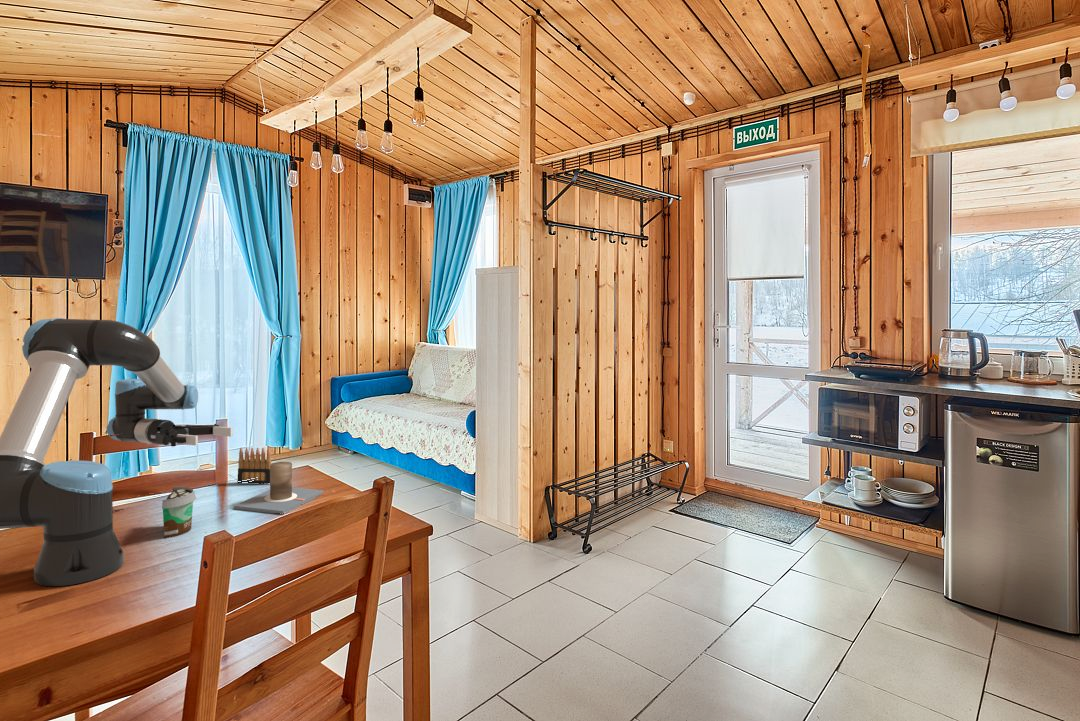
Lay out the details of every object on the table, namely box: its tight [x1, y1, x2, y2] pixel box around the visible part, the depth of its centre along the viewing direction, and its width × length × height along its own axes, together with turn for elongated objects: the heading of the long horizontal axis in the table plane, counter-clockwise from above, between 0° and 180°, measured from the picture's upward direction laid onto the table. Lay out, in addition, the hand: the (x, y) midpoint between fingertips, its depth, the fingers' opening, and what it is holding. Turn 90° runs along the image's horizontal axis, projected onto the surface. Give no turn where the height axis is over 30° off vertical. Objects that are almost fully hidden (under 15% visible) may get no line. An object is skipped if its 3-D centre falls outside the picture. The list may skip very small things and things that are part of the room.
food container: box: [161, 486, 197, 539], centre depth 147 cm, size 12×6×10 cm, turn 22°
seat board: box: [233, 486, 325, 515], centre depth 172 cm, size 20×16×1 cm
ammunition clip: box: [237, 447, 272, 485], centre depth 188 cm, size 11×2×12 cm, turn 93°
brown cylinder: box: [269, 461, 293, 500], centre depth 172 cm, size 6×6×10 cm
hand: (215, 436), depth 173 cm, fingers open, 13 cm apart
